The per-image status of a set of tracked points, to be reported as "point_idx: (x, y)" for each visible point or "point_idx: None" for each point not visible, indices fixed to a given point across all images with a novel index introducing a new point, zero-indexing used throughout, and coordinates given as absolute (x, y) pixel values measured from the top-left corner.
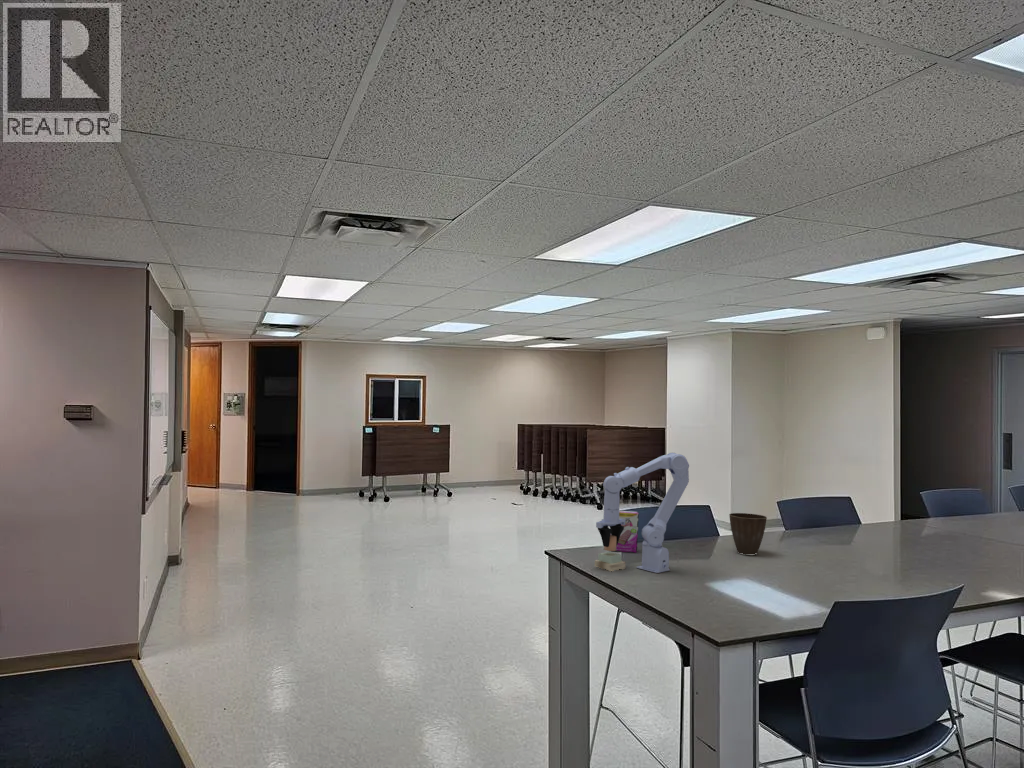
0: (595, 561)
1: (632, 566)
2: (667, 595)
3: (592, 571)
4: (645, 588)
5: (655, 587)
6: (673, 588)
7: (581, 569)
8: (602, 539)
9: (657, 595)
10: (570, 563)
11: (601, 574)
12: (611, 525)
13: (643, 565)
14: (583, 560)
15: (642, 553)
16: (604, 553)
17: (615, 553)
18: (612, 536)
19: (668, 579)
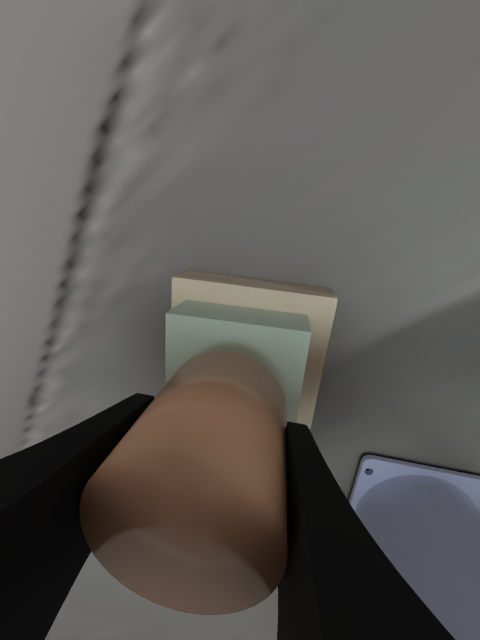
0: (173, 283)
1: (394, 418)
2: (86, 633)
3: (100, 321)
4: (88, 575)
5: (128, 594)
6: (169, 634)
7: (79, 251)
8: (74, 436)
9: (60, 615)
10: (131, 78)
11: (96, 384)
12: None
13: (366, 508)
14: (298, 68)
15: (409, 576)
16: (217, 341)
17: (295, 403)
18: (178, 571)
19: (271, 603)
